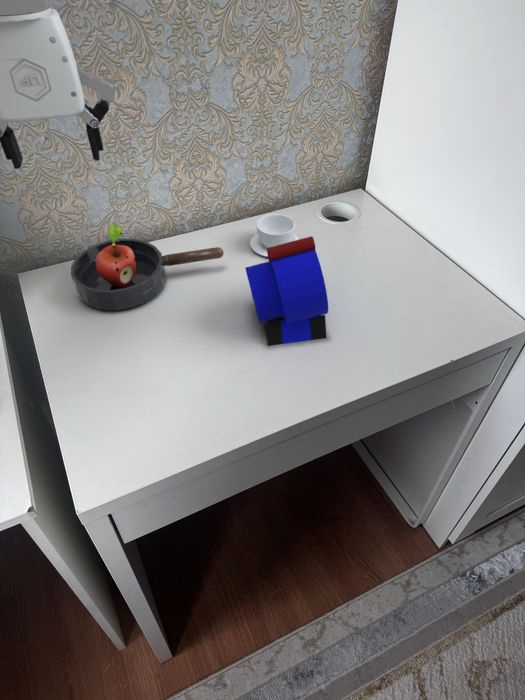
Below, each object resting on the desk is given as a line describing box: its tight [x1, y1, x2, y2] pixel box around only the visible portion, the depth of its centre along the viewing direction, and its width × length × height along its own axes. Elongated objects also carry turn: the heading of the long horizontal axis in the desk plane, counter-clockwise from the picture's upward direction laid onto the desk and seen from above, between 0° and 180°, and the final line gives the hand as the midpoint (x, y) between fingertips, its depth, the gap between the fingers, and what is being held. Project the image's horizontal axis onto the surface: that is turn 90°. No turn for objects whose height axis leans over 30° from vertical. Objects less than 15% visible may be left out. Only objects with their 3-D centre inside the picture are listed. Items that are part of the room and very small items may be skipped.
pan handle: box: [162, 246, 224, 267], centre depth 86 cm, size 12×2×2 cm, turn 104°
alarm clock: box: [244, 235, 329, 347], centre depth 75 cm, size 12×12×15 cm
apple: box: [95, 223, 136, 287], centre depth 83 cm, size 8×7×10 cm
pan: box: [70, 238, 167, 311], centre depth 85 cm, size 16×16×4 cm
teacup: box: [249, 213, 300, 258], centre depth 93 cm, size 10×10×5 cm
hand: (58, 160), depth 62 cm, fingers open, 9 cm apart
